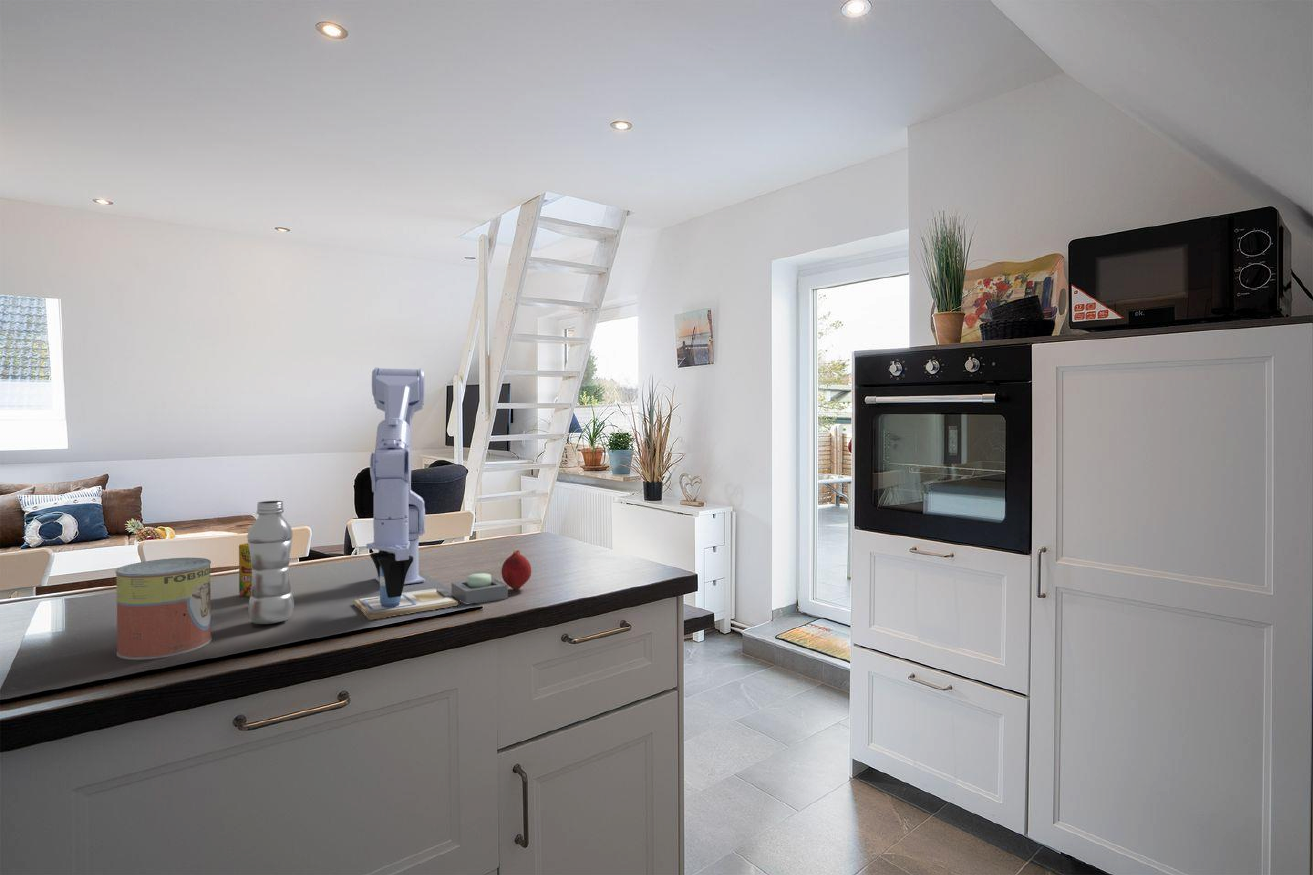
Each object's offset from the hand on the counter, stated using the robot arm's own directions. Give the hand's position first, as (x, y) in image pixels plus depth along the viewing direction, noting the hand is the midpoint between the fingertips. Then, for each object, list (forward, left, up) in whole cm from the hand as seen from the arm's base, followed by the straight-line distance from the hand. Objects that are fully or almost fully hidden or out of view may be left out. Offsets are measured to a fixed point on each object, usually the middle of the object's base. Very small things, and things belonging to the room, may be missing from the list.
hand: (391, 594), depth 117 cm
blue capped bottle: (0, 0, -2) cm, 2 cm away
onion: (-1, +24, -3) cm, 24 cm away
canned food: (0, -32, -3) cm, 32 cm away
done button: (0, +16, -1) cm, 16 cm away
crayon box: (-24, -18, -3) cm, 30 cm away
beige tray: (-2, +3, -3) cm, 5 cm away
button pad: (0, +16, -3) cm, 16 cm away
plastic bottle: (-4, -18, -3) cm, 19 cm away
